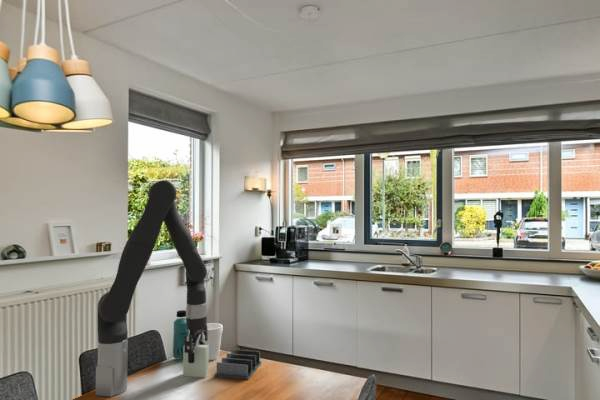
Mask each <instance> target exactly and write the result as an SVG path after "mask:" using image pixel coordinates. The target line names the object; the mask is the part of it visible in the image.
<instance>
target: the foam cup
mask: <svg viewBox="0 0 600 400" xmlns="http://www.w3.org/2000/svg"><path fill="white" fill-rule="evenodd" d="M223 326H224V325H223V324H221V323H218V322H217V323H216V322H210V323H208V322H207V334H208V340H207V341H206V343H205V345H209V361H215V360H217V359H219V358H220V350H221V344H222V335H223V331H224V329H223V328H224V327H223ZM204 336H205V335H204Z"/></svg>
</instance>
